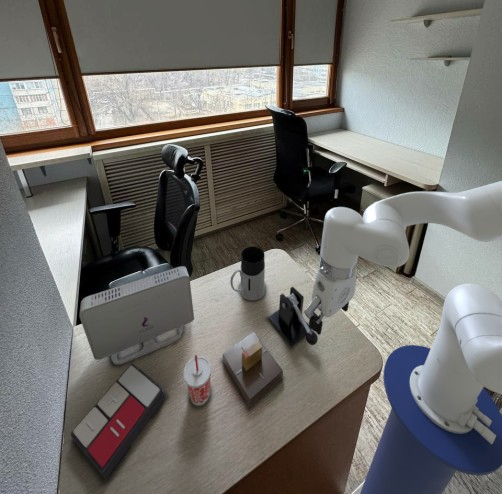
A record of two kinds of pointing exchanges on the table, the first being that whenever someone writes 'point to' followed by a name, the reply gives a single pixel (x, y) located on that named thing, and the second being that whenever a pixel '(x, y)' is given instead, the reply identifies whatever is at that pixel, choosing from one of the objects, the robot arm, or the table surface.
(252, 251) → the glass holder
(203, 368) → the beverage cup
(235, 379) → the lock plate
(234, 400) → the table surface
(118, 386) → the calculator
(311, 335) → the door lever
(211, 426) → the table surface
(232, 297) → the table surface
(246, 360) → the thumb turn
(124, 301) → the network device
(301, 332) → the handle bracket
